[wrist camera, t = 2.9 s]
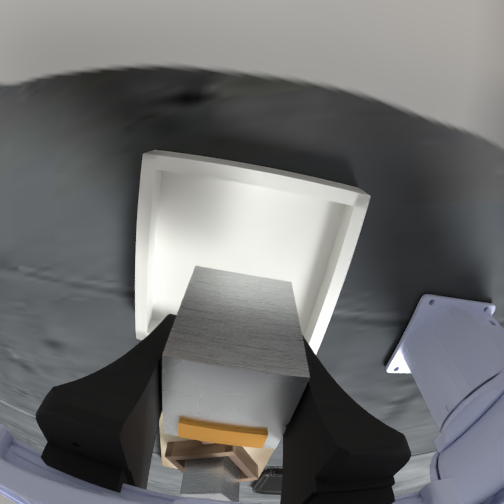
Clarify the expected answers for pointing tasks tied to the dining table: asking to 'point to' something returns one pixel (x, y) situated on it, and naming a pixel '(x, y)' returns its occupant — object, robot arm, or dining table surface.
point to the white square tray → (242, 233)
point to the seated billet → (211, 479)
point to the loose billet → (233, 360)
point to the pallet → (212, 454)
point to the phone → (269, 482)
